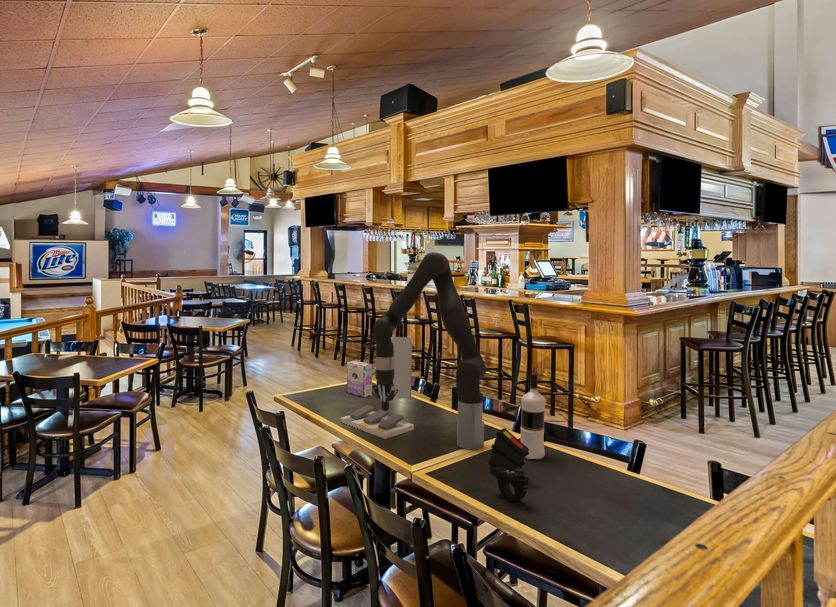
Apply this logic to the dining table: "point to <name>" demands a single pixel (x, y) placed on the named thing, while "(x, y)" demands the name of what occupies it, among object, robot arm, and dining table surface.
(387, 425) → the rocker near
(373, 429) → the switch panel
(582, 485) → the dining table surface
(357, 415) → the rocker far
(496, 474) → the controller
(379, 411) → the rocker mid
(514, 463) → the dark striped block
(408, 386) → the tall grey panel
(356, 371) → the candy box
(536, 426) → the vodka
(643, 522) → the dining table surface
